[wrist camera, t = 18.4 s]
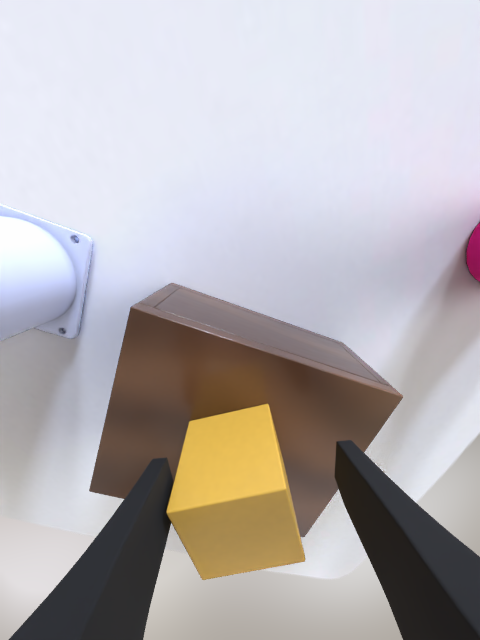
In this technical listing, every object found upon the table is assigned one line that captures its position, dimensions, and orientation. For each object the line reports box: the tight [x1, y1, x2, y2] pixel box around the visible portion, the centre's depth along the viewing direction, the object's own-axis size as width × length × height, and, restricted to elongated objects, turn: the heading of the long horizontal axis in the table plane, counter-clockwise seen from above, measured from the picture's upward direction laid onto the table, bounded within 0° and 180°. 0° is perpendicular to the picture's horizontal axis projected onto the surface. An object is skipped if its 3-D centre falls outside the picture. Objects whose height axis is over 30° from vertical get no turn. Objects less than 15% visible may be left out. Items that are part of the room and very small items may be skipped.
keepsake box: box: [139, 283, 392, 387], centre depth 16 cm, size 12×15×6 cm
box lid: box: [89, 303, 403, 537], centre depth 13 cm, size 12×15×1 cm
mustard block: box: [166, 404, 305, 580], centre depth 11 cm, size 4×4×4 cm
